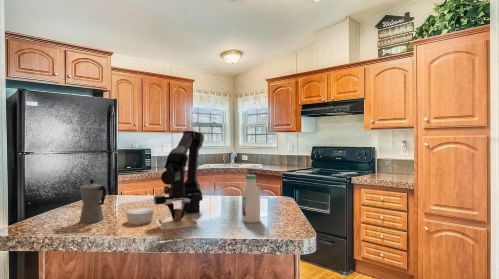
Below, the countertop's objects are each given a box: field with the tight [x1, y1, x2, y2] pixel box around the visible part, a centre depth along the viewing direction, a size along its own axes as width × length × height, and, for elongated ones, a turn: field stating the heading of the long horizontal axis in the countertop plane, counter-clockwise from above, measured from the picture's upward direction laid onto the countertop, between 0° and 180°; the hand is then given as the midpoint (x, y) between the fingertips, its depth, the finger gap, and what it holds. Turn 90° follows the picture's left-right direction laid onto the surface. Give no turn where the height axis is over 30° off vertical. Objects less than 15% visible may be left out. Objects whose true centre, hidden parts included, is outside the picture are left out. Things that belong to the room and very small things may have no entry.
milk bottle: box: [241, 174, 261, 224], centre depth 135 cm, size 8×8×20 cm
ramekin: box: [125, 207, 154, 225], centre depth 132 cm, size 11×11×5 cm
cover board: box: [158, 208, 198, 228], centre depth 130 cm, size 13×13×6 cm
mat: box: [154, 216, 202, 230], centre depth 130 cm, size 16×16×1 cm
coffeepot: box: [79, 179, 108, 224], centre depth 136 cm, size 15×9×18 cm, turn 65°
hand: (177, 218), depth 130 cm, fingers closed on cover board, 3 cm apart
